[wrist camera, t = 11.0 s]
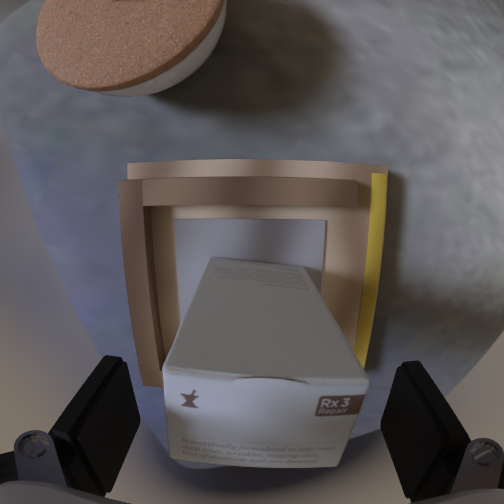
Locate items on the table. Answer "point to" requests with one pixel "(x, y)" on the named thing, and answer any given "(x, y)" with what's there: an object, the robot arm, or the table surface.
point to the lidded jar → (127, 42)
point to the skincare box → (260, 371)
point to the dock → (249, 237)
